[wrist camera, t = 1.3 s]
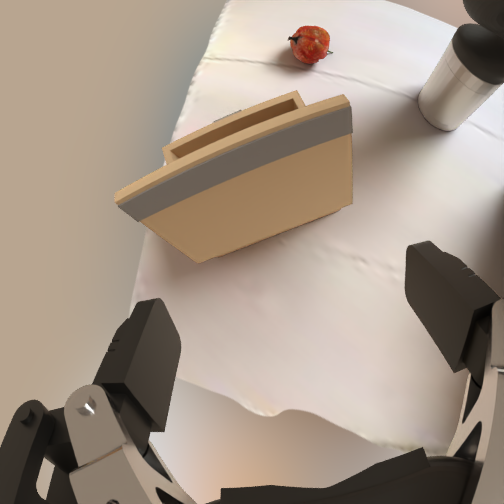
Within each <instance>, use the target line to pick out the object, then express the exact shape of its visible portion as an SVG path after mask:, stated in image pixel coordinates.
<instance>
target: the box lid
mask: <svg viewBox="0 0 504 504" xmlns="http://www.w3.org/2000/svg"><path fill="white" fill-rule="evenodd" d="M351 133H353V129H352V109H351V106H350V102H349V100H348V99H347V98H346V97H345V95H344V94H343V95H339V96H336V97H333V98H329V99H326V100H323V101H320V102H317V103H314V104H311V105H308V106H305V107H302V108H299V109H296V110H294V111H291V112H288V113H285V114H282V115H280V116H277V117H274V118H272V119H269V120H267V121H264V122H261V123H259V124H256V125H254V126H251V127H249V128H246V129H244V130H242V131H239V132H237V133H234V134H232V135H230V136H227V137H225V138H223V139H221V140H218V141H216V142H214V143H212V144H209V145H207V146H205V147H203V148H201V149H198V150H196V151H194V152H192V153H190V154H188V155H186V156H184V157H182V158H180V159H178V160H176V161H174V162H172V163H170V164H168V165H166V166H164V167H162V168H160V169H158V170H156V171H154V172H152V173H150V174H148V175H147V176H145V177H143V178H141V179H139V180H137V181H135V182H134V183H132V184H130V185H128V186H126V187H125V188H123V189H121V190H119V191H118V192H116V193H115V203H116V204H118V207H119V208H120V209H122V210H123V211H124V212H126V213H127V214H128V215H130V216H131V217H132V218H134V219H135V220H136V221H137V222H139V221H140V222H141V223H143V224H144V225H145V226H147V227H148V228H149V229H151V230H152V231H153V232H155V233H156V234H157V235H159V236H160V237H162V238H163V239H164V240H166V241H167V242H168V243H170V244H171V245H173V246H174V247H175V248H177V249H178V250H179V251H181V252H182V253H184V254H185V255H186V256H188V257H189V258H191V259H192V260H193V261H195V262H196V263H201V262H203V261H206V260H208V259H211V258H214V257H216V256H219V255H221V254H224V253H226V252H229V251H231V250H234V249H236V248H239V247H242V246H244V245H247V244H249V243H252V242H254V241H257V240H259V239H262V238H265V237H267V236H270V235H272V234H275V233H277V232H280V231H283V230H285V229H288V228H290V227H293V226H295V225H298V224H301V223H303V222H306V221H308V220H311V219H314V218H316V217H319V216H321V215H324V214H327V213H329V212H332V211H334V210H337V209H340V208H342V207H345V206H348V205H350V204H352V187H353V184H352V136H351Z"/></svg>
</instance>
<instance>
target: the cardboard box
mask: <svg viewBox="0 0 504 504" xmlns="http://www.w3.org/2000/svg"><path fill="white" fill-rule="evenodd" d="M302 107H305V104H304V102H303V100H302V98H301V97H300V95H299V93H298V91H297V90H296V91H293V92H290V93H287V94H285V95H282V96H279V97H276V98H274V99H271V100H268V101H265V102H263V103H260V104H258V105H255V106H253V107H250V108H248V109H245V110H243V111H241V110H239V111H237V112H235V113H232V114H230V115H227V116H225V117H223V118H221V119H218V120H216V121H214V123H212V124H210V125H208V126H206V127H204V128H201V129H199V130H197V131H195V132H193V133H191V134H189V135H187V136H185V137H183V138H181V139H178V140H176V141H175V142H173V143H171V144H169V145H167V146H165V147H163V148H162V150H163V153H164V157H165V160H166V164H167V165H168V164H170V163H172V162H174V161H176V160H178V159H180V158H182V157H184V156H186V155H188V154H190V153H192V152H194V151H196V150H198V149H201V148H203V147H205V146H207V145H209V144H212V143H214V142H216V141H218V140H221V139H223V138H225V137H227V136H230V135H232V134H234V133H237V132H239V131H242V130H244V129H246V128H249V127H251V126H254V125H256V124H259V123H261V122H264V121H267V120H269V119H272V118H274V117H277V116H280V115H282V114H285V113H288V112H291V111H294V110H296V109H299V108H302ZM340 209H341V208H340ZM340 209H337V210H334V211H332V212H329V213H327V214H324V215H321V216H319V217H316V218H314V219H311V220H308V221H306V222H303V223H301V224H298V225H295V226H293V227H290V228H288V229H285V230H283V231H280V232H277V233H275V234H272V235H270V236H267V237H265V238H262V239H259V240H257V241H254V242H252V243H249V244H247V245H244V246H242V247H239V248H236V249H234V250H231V251H229V252H226V253H224V254H221V255H219V256H216V257H221V256H223V255H226V254H228V253H231V252H233V251H236V250H239V249H241V248H244V247H246V246H249V245H251V244H254V243H257V242H259V241H262V240H264V239H267V238H269V237H272V236H275V235H277V234H280V233H282V232H285V231H287V230H290V229H293V228H295V227H298V226H300V225H303V224H306V223H308V222H311V221H313V220H316V219H319V218H321V217H324V216H326V215H329V214H332V213H334V212H337V211H339V210H340Z"/></svg>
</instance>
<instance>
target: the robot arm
mask: <svg viewBox="0 0 504 504" xmlns="http://www.w3.org/2000/svg"><path fill="white" fill-rule="evenodd" d="M463 4H464V7H465V9H466V11H467V13H468V14H469V16H470V17H471V18H472V19H473V20H474V21H476V22H477V23H478V24H480V25H478V24H464V25H462V26H460V27H459V28H458V29H457V31H456V32H455V34H454V36H453V38H452V40H451V42H450V43H449V45H448V47H447V49H446V51H445V52H444V54H443V56H442V57H441V59H440V61H439V62H438V64H437V66H436V67H435V69H434V71H433V72H432V74H431V76H430V77H429V79H428V81H427V82H426V84H425V85H424V87H423V89H422V90H421V92H420V94H419V96H418V105H419V108H420V111H421V113H422V114H423V116H424V117H425V119H426V120H427V121H428V122H429V123H431V124H432V125H433V126H435V127H436V128H438V129H441V130H444V131H452V130H455V129H456V128H458V127H459V126H460V125H461V124H462V123H463V122H464V121H465V120H466V119H467V118H468V117H469V116H470V115H471V114H472V113H474V112H475V111H476V110H477V109H478V108H479V107H480V106H481V105H482V104H483V103H484V102H485V101H486V100H487V99H488V98H489V97H490V96H491V95H492V94H493V93H494V92H495V91H496V90H497V89H498V88H499V87H500V86H501V85H502V84H503V83H504V0H463ZM405 294H406V298H407V301H408V303H409V305H410V306H411V307H412V309H413V310H414V312H415V313H416V315H417V316H418V318H419V319H420V321H421V322H422V323H423V325H424V326H425V328H426V329H427V331H428V332H429V334H430V335H431V337H432V339H433V340H434V342H435V343H436V345H437V346H438V348H439V349H440V351H441V353H442V354H443V356H444V357H445V359H446V361H447V362H448V364H449V365H450V367H451V369H452V370H453V372H454V373H456V372H458V371H460V370H462V369H465V368H468V370H469V372H470V373H469V376H468V378H467V383H466V389H465V395H464V400H463V405H462V409H461V414H460V418H459V422H458V426H457V430H456V433H455V435H454V438H453V440H452V442H451V444H450V447H449V449H448V451H447V454H446V456H430V457H426V454H425V451H424V449H423V447H422V448H419V449H417V450H414V451H411V452H409V453H406V454H403V455H400V456H398V457H395V458H392V459H389V460H386V461H383V462H380V463H377V464H374V465H373V466H371V467H369V468H367V469H366V470H363V471H362V472H360V473H358V474H356V475H354V476H352V477H350V478H348V479H346V480H344V481H342V482H339V483H338V484H335V485H333V486H331V487H327V488H301V487H286V486H275V485H266V486H257V487H256V486H255V487H241V488H221V499H219V500H215V501H212V502H209V503H206V504H504V298H502V299H501V298H500V297H499V296H498V295H497V294H496V293H495V292H494V291H493V290H492V289H491V288H490V287H489V286H488V285H487V284H486V283H485V282H484V281H483V280H482V279H481V278H479V277H478V276H477V275H475V273H474V272H473V271H472V270H471V269H470V268H467V265H465V264H464V263H463V262H462V261H461V260H460V259H459V258H457V257H455V256H453V255H451V254H449V253H446V252H442V251H441V250H440V249H439V248H438V247H437V246H435V245H434V244H433V243H432V242H431V241H425V242H421V243H417V244H413V245H409V246H408V247H407V250H406V272H405ZM180 354H181V341H180V337H179V334H178V332H177V330H176V327H175V325H174V323H173V321H172V319H171V317H170V315H169V313H168V311H167V308H166V306H165V304H164V302H163V301H162V300H161V299H160V298H156V299H151V300H145V301H140V302H138V303H137V304H136V306H135V308H134V310H133V312H132V314H131V316H130V318H128V319H126V320H125V322H124V323H123V324H122V325H121V326H120V327H119V328H118V329H117V331H116V333H115V335H114V337H113V339H112V343H110V346H109V348H108V352H106V354H105V356H104V358H103V361H102V363H101V365H100V367H99V370H98V372H97V374H96V376H95V379H94V381H93V383H92V385H86V386H83V387H81V388H79V389H77V390H76V391H75V392H73V393H72V395H71V396H70V397H69V398H68V400H67V402H66V404H65V407H63V408H58V409H54V410H50V411H48V410H47V409H46V408H45V406H43V404H42V403H41V402H40V401H38V400H30V401H27V402H25V403H24V404H23V405H21V406H20V407H19V408H18V409H17V411H16V412H15V414H14V416H13V418H12V421H11V423H10V425H9V427H8V430H7V432H6V435H5V437H4V440H3V442H2V445H1V447H0V504H197V503H196V502H195V501H194V500H193V499H192V498H191V497H190V496H189V495H188V494H187V493H186V492H185V491H184V490H183V489H182V488H181V487H180V485H179V484H178V483H177V481H176V480H175V479H174V477H173V475H172V474H171V473H170V471H169V470H168V468H167V467H166V465H165V463H164V462H163V460H162V459H161V457H160V456H159V454H158V452H157V451H156V449H155V448H154V446H153V444H152V443H151V442H150V441H149V436H150V432H164V431H165V426H166V421H167V416H168V411H169V406H170V401H171V396H172V390H173V386H174V381H175V376H176V372H177V367H178V363H179V358H180ZM44 457H45V458H46V459H47V460H49V461H50V462H51V463H52V464H54V465H55V467H54V471H53V474H52V479H51V482H50V486H49V490H48V494H47V498H46V500H44V499H43V498H41V497H40V495H39V494H38V492H37V489H36V482H37V478H38V475H39V471H40V468H41V465H42V461H43V458H44Z"/></svg>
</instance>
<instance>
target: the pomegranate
mask: <svg viewBox="0 0 504 504" xmlns="http://www.w3.org/2000/svg"><path fill="white" fill-rule="evenodd" d="M288 40H291V41H290V44H291V47H292V50H293V54H294V56H295V57H296V58H297V59H299V60H300V61H302V62H304V63H308V64H312V63H316V62H318V61H319V59H324V58H325V57H326V56H327V51H328V49H329V41H330V36H329V34H328V32H327V31H326V30H324V29H323V28H320V27H318V26H303V27H300V28H299V29H298V30H297V31H296V33H295V34H294V35H293V36H292V37H290V36H289V38H288ZM328 52H330V51H328ZM330 53H333V52H330Z"/></svg>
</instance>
